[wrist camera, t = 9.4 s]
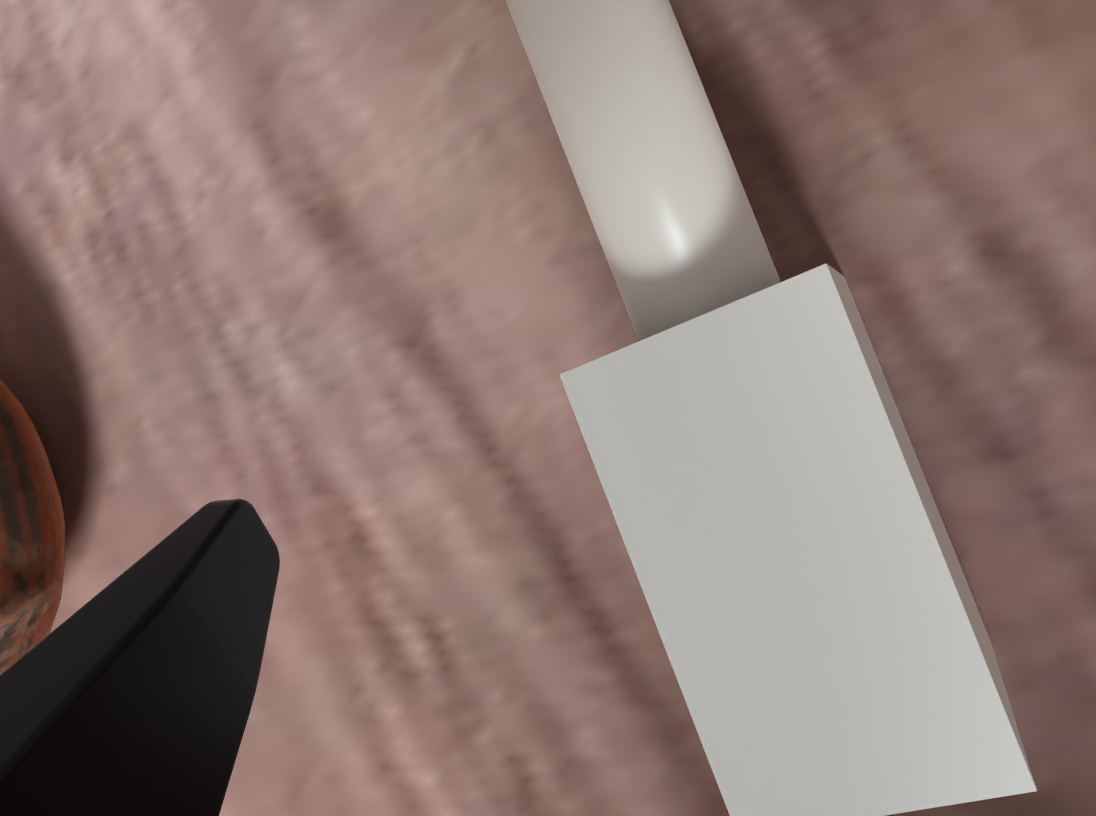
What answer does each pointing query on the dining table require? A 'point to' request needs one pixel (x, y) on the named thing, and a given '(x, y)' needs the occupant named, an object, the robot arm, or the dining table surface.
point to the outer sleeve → (798, 561)
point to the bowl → (27, 535)
